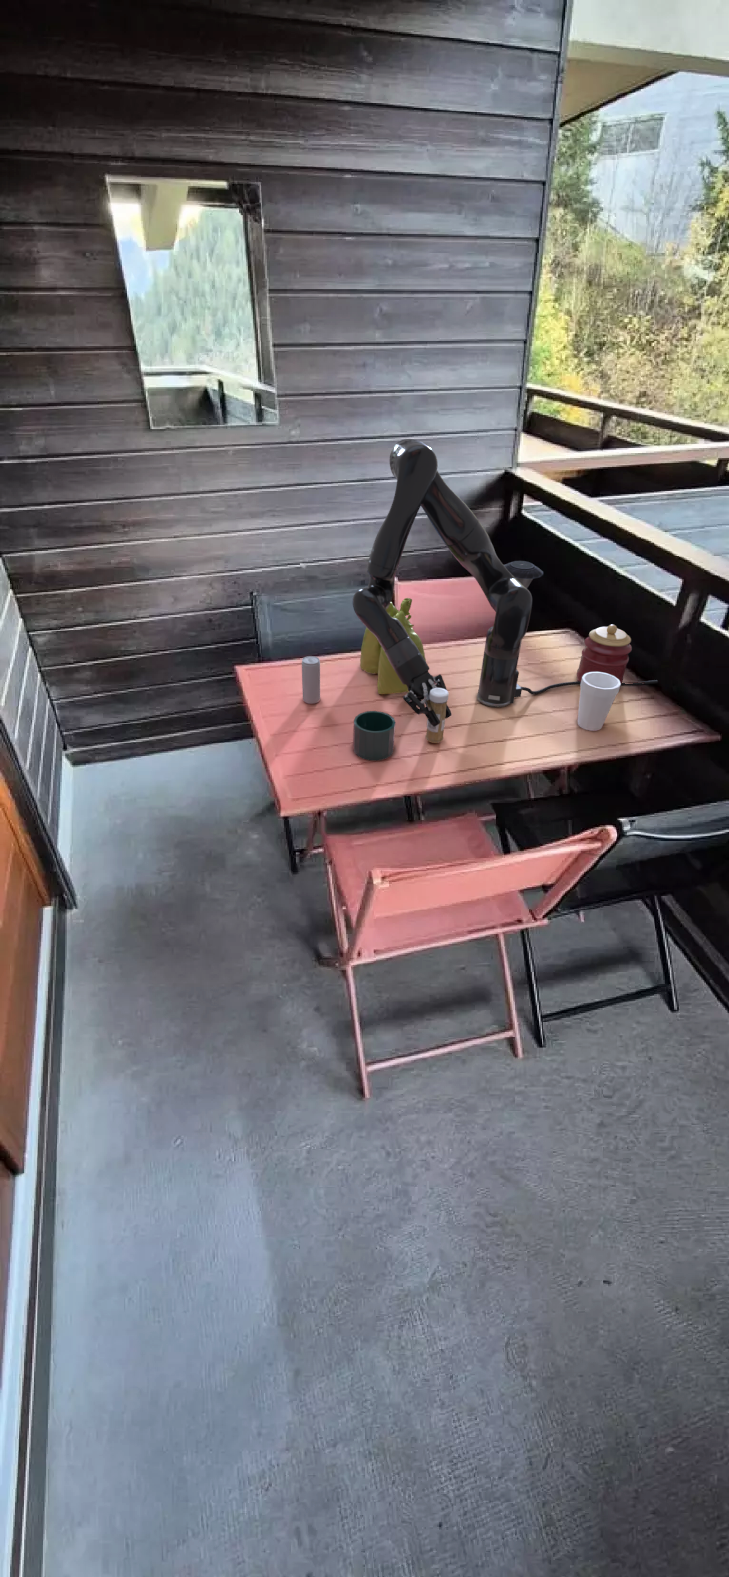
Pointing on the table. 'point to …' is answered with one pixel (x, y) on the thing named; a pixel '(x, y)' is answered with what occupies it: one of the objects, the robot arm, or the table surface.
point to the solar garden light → (524, 571)
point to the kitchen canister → (605, 652)
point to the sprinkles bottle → (439, 706)
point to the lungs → (376, 658)
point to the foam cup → (596, 699)
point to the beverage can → (311, 679)
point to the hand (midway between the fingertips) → (442, 720)
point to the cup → (373, 735)
